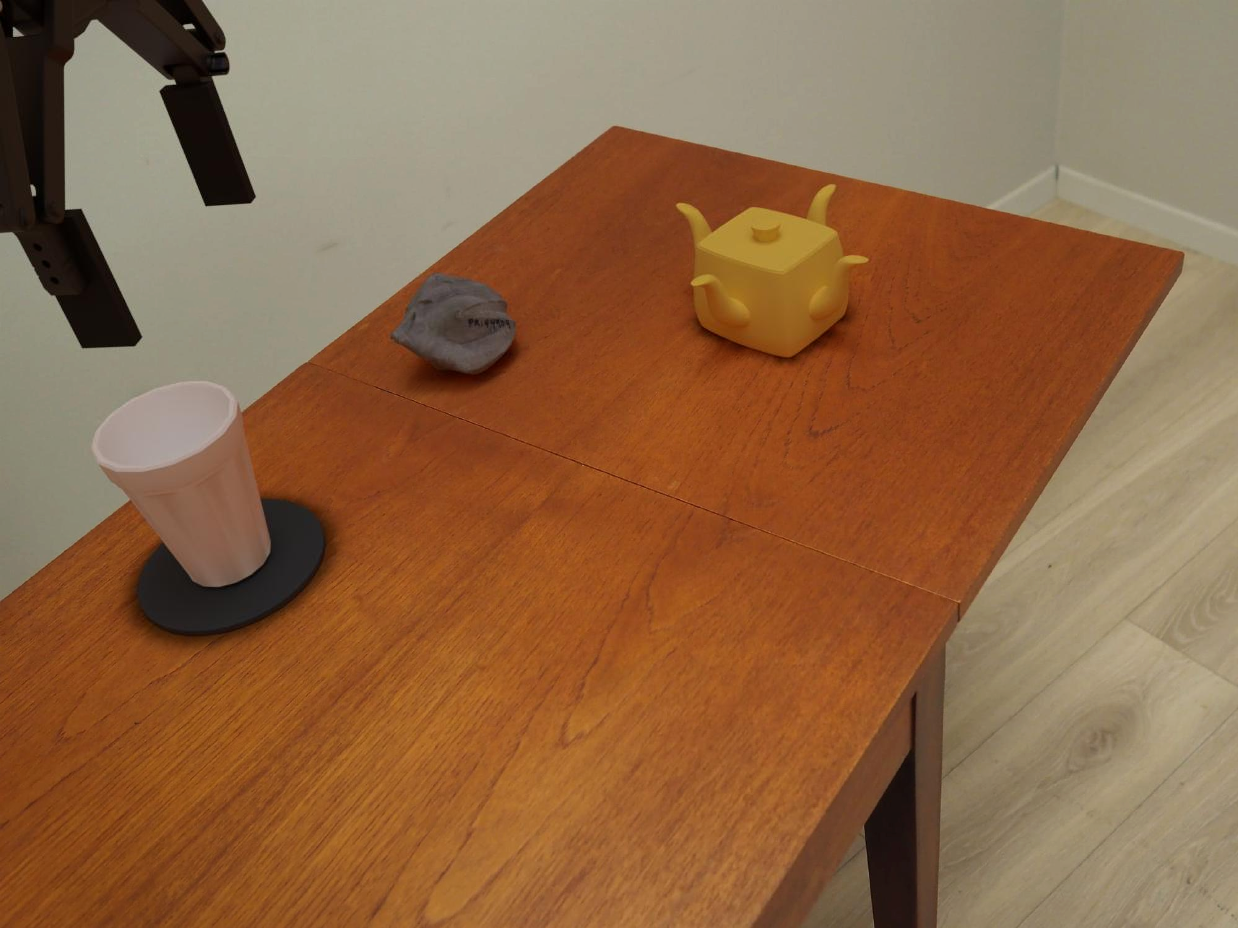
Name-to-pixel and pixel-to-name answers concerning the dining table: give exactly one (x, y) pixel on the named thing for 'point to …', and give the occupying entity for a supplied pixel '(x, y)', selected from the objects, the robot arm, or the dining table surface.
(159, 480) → the cup
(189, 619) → the mat
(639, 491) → the dining table surface
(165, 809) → the dining table surface
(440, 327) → the fossil
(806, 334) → the teapot
